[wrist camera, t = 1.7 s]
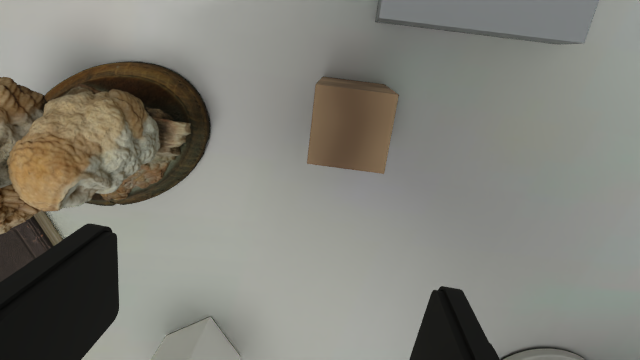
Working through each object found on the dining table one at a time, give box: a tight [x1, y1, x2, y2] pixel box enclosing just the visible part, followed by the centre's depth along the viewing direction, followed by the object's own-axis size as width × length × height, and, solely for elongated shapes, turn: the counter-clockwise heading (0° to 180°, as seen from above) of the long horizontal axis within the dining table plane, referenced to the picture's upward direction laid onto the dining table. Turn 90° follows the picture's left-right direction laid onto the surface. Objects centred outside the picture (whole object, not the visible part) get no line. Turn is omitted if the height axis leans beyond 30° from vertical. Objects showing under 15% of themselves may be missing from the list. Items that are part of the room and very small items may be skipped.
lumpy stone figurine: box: [0, 62, 210, 234], centre depth 24 cm, size 18×12×17 cm, turn 113°
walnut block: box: [307, 77, 399, 174], centre depth 26 cm, size 5×5×8 cm
